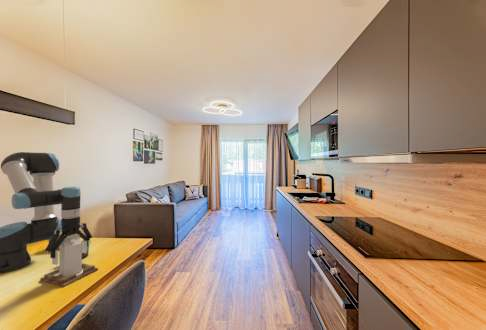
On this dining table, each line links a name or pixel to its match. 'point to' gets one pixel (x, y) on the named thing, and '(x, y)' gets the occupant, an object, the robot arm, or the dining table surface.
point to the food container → (87, 251)
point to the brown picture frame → (61, 281)
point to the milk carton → (70, 256)
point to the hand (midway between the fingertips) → (70, 258)
